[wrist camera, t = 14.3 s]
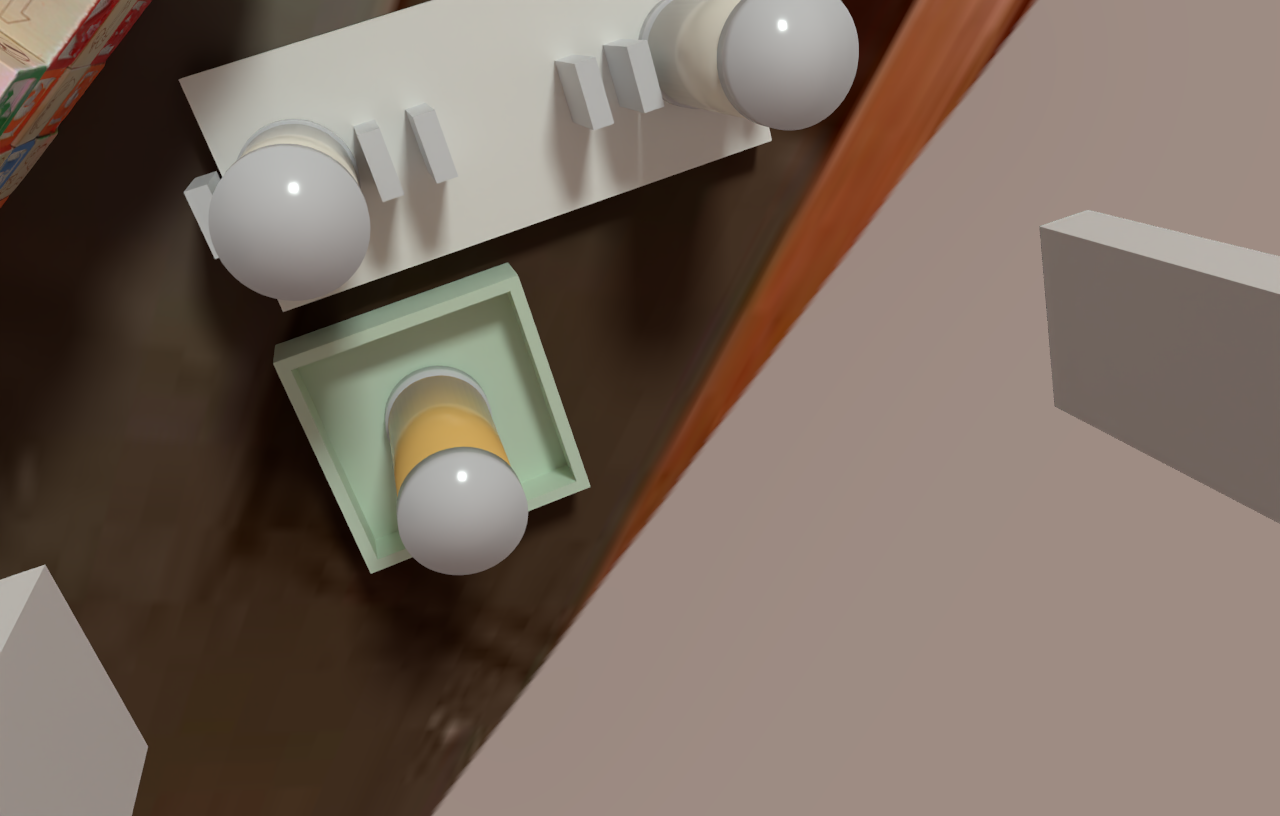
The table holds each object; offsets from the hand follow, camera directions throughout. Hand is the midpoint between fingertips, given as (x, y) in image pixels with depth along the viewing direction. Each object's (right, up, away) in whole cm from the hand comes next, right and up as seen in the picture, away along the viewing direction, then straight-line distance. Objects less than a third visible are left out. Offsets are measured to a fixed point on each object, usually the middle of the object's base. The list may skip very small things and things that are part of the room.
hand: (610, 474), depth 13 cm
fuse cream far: (+2, +15, +28) cm, 32 cm away
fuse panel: (-5, +13, +28) cm, 31 cm away
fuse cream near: (-12, +9, +25) cm, 30 cm away
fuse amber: (-8, +1, +31) cm, 32 cm away
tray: (-8, +1, +32) cm, 33 cm away
